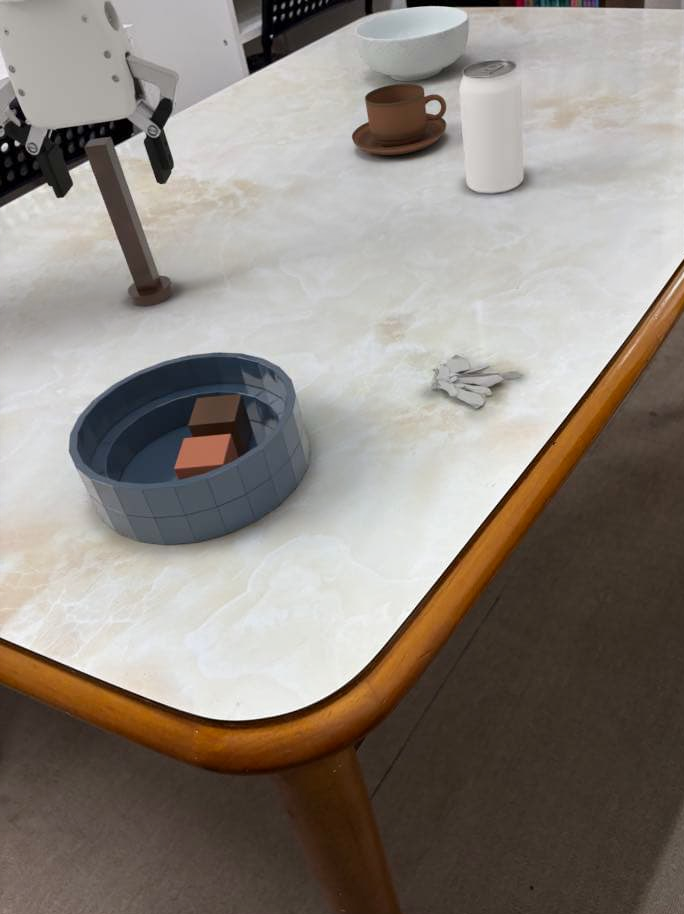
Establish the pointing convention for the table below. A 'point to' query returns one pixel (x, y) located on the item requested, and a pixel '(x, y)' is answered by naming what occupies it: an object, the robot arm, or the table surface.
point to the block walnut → (222, 420)
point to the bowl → (160, 439)
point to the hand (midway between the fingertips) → (115, 185)
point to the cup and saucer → (399, 121)
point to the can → (492, 126)
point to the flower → (467, 380)
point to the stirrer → (127, 225)
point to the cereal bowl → (413, 41)
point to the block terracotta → (204, 455)
